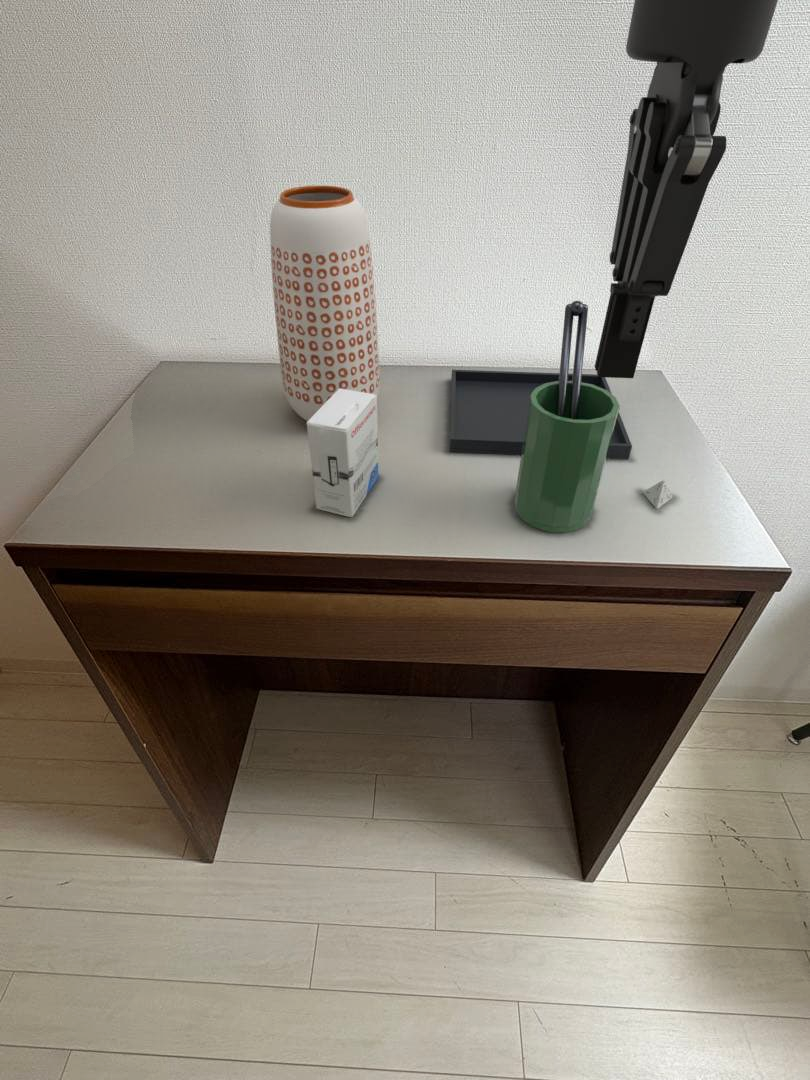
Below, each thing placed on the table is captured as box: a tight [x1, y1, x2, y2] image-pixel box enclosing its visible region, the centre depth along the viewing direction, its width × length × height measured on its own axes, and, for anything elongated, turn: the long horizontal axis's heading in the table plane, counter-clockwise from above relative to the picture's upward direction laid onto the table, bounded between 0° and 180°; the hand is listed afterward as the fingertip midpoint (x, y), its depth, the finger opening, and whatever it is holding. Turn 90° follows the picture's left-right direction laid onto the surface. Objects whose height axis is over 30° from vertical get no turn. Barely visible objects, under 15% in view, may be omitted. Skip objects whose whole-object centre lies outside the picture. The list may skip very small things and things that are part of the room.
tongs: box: [556, 300, 589, 420], centre depth 66 cm, size 2×11×21 cm, turn 175°
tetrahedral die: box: [642, 479, 673, 510], centre depth 72 cm, size 4×3×3 cm
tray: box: [449, 369, 633, 460], centre depth 88 cm, size 23×20×2 cm
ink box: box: [306, 388, 379, 518], centre depth 70 cm, size 9×5×12 cm, turn 160°
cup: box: [514, 381, 620, 533], centre depth 68 cm, size 9×9×14 cm
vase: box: [269, 185, 381, 422], centre depth 79 cm, size 13×13×28 cm
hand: (613, 372), depth 49 cm, fingers closed
